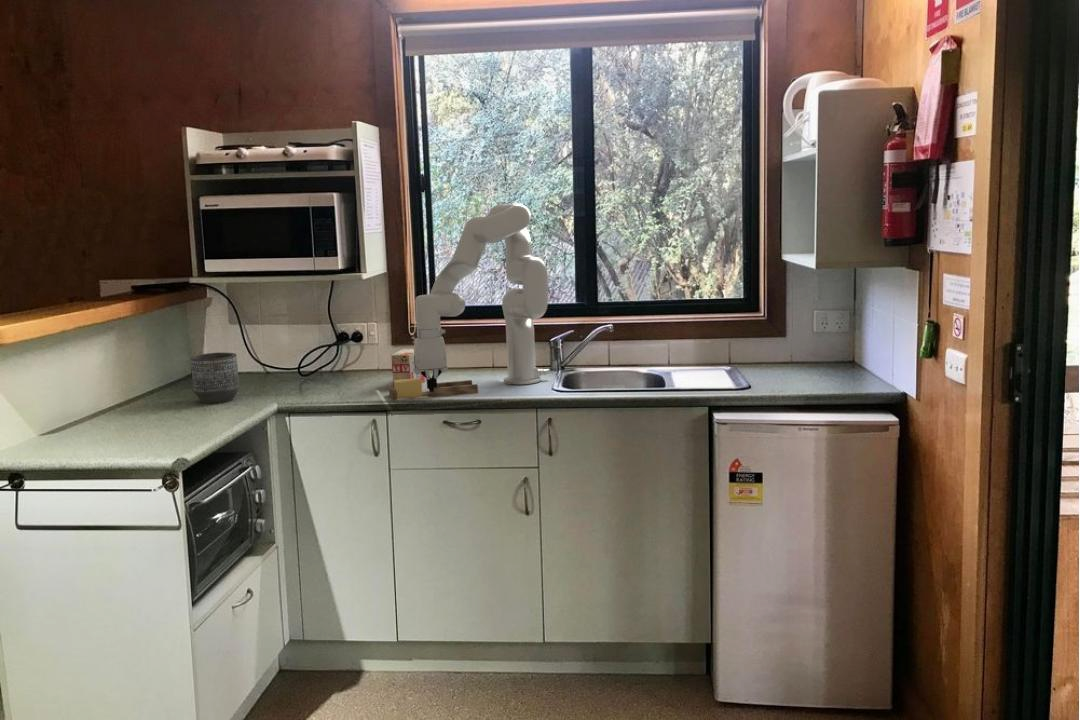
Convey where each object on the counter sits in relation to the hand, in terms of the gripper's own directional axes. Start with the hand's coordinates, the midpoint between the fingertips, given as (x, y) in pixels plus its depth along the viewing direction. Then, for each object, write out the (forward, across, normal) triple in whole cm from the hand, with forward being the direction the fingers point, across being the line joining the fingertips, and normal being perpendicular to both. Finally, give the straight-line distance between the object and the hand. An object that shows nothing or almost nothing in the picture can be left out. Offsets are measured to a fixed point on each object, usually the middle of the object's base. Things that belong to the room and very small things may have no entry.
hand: (432, 390), depth 302 cm
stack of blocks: (+2, +3, -24) cm, 24 cm away
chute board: (+2, 0, 0) cm, 2 cm away
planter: (+2, +66, -25) cm, 71 cm away
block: (+1, +8, 0) cm, 8 cm away
